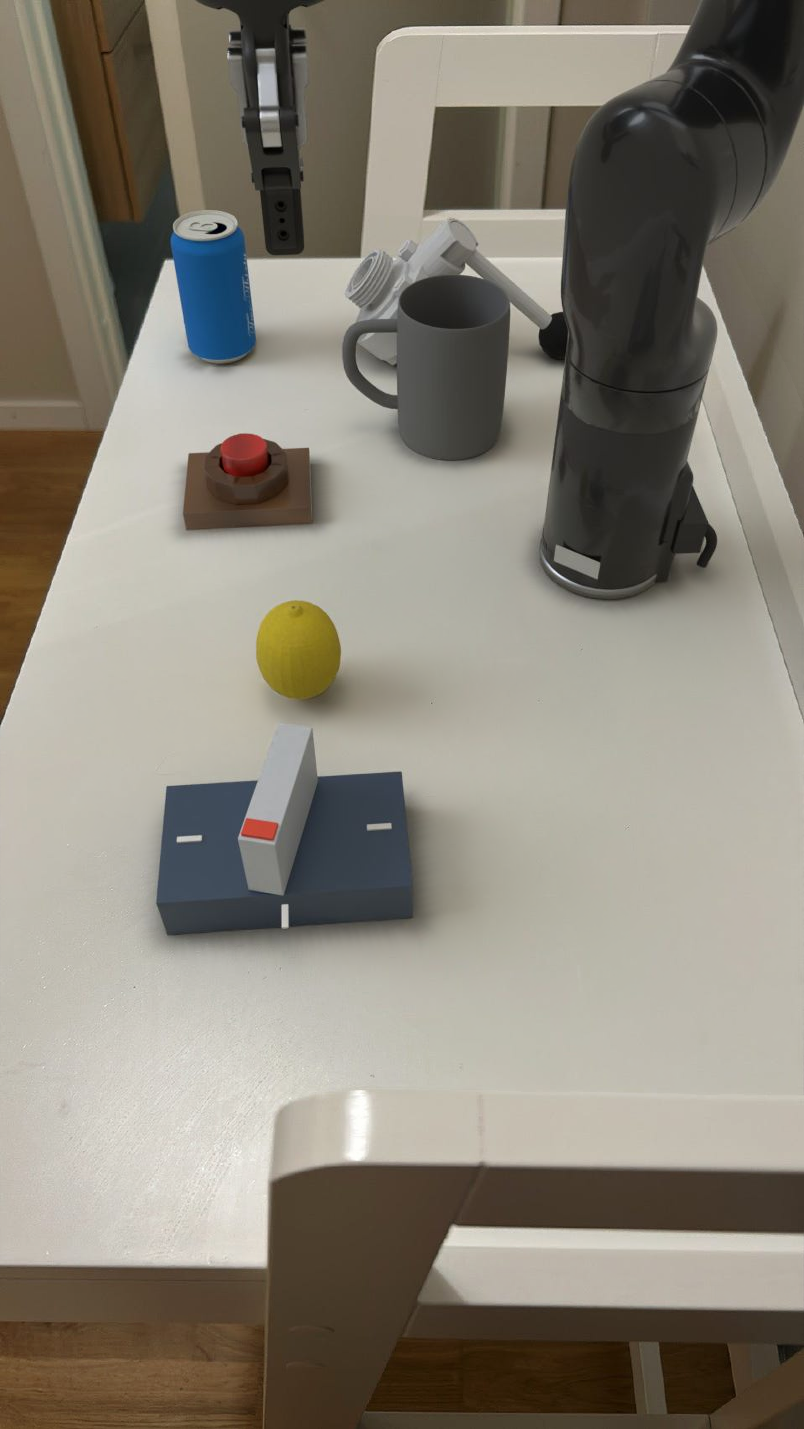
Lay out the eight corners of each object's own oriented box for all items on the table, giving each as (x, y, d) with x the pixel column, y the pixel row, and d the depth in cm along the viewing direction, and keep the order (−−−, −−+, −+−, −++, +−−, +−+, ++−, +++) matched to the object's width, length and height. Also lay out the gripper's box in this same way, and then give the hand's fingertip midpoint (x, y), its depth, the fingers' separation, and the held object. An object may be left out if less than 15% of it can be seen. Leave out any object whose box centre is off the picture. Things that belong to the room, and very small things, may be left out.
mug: (498, 402, 95) (508, 273, 85) (504, 462, 89) (515, 330, 79) (348, 402, 95) (342, 273, 86) (343, 462, 89) (336, 331, 80)
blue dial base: (399, 778, 67) (399, 742, 64) (415, 951, 59) (416, 918, 56) (178, 792, 66) (168, 756, 63) (164, 968, 58) (152, 936, 55)
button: (268, 450, 85) (266, 432, 83) (268, 477, 82) (266, 458, 81) (224, 452, 84) (221, 434, 83) (222, 479, 82) (219, 461, 81)
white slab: (285, 775, 62) (277, 718, 58) (318, 780, 62) (312, 723, 58) (248, 890, 57) (236, 836, 53) (283, 896, 57) (274, 842, 53)
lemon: (252, 677, 72) (238, 591, 66) (327, 654, 74) (319, 568, 68) (277, 733, 69) (265, 648, 63) (355, 708, 71) (350, 622, 64)
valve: (480, 462, 104) (594, 368, 95) (321, 342, 95) (430, 224, 85) (483, 397, 111) (591, 303, 101) (334, 279, 101) (437, 162, 91)
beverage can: (245, 371, 98) (229, 244, 89) (180, 364, 99) (157, 237, 90) (265, 336, 102) (251, 211, 93) (202, 329, 103) (182, 205, 94)
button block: (310, 464, 88) (307, 428, 86) (312, 524, 83) (309, 488, 81) (191, 470, 88) (184, 434, 85) (186, 530, 83) (178, 494, 80)
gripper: (340, -96, 43) (355, 303, 56) (330, -162, 52) (345, 197, 65) (157, -92, 43) (215, 309, 56) (178, -159, 51) (224, 202, 65)
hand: (285, 248), depth 60 cm, fingers closed
